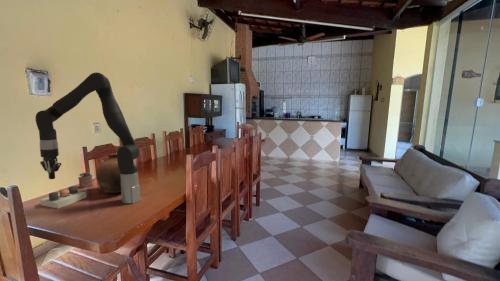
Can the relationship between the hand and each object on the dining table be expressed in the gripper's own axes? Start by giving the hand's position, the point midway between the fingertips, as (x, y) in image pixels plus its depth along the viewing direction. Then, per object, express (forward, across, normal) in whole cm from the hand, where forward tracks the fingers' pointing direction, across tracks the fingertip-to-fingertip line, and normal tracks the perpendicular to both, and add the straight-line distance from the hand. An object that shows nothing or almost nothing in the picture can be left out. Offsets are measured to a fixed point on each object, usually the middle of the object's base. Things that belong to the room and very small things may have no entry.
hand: (52, 178), depth 132 cm
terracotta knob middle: (+11, 0, -5) cm, 13 cm away
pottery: (+15, -15, -29) cm, 36 cm away
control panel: (+15, 0, -5) cm, 16 cm away
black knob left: (+11, 0, 0) cm, 12 cm away
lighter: (+15, +10, -27) cm, 32 cm away
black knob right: (+11, 0, -11) cm, 16 cm away
